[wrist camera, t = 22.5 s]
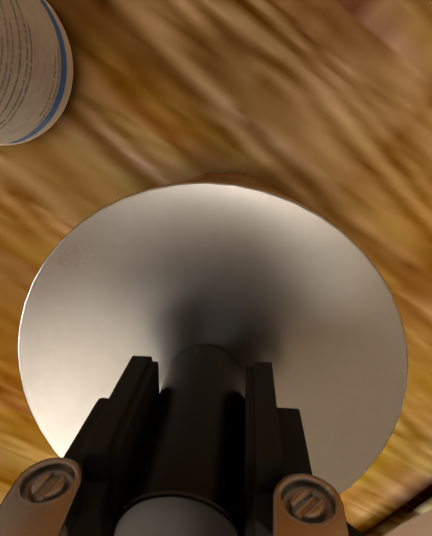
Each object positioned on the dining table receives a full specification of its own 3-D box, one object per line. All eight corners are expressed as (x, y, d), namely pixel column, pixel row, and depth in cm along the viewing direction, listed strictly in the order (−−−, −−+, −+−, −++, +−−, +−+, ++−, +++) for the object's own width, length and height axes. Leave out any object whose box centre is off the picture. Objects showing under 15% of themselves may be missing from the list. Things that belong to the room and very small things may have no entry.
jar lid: (53, 493, 17) (-78, 726, 10) (13, 175, 13) (-238, 201, 6) (371, 516, 16) (463, 789, 9) (423, 182, 12) (641, 222, 5)
